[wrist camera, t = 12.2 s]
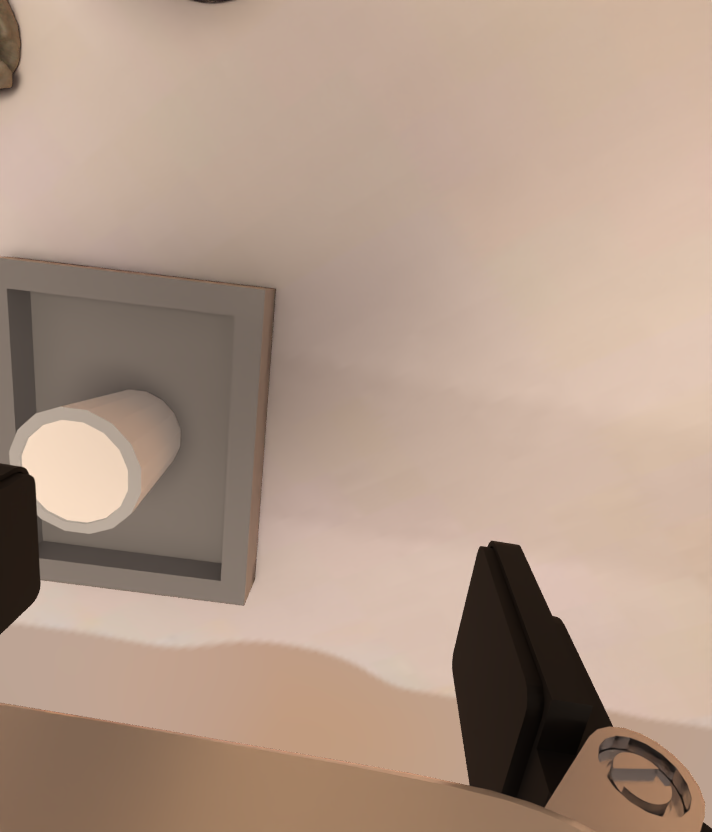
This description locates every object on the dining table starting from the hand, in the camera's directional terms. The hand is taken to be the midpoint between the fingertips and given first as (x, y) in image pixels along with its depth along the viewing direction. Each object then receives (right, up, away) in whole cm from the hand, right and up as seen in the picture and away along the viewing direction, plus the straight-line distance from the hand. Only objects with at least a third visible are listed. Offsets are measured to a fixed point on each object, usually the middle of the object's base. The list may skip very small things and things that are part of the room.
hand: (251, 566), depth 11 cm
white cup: (-12, +2, +22) cm, 25 cm away
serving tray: (-12, +2, +23) cm, 26 cm away
